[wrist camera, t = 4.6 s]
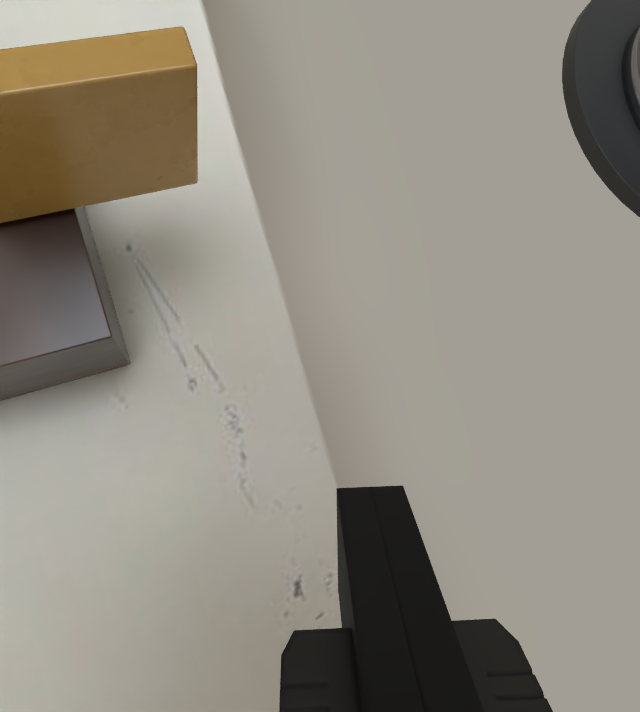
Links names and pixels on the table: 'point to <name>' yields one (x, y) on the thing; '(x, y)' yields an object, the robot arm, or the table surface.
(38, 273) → the case
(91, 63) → the lever
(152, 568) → the table surface
